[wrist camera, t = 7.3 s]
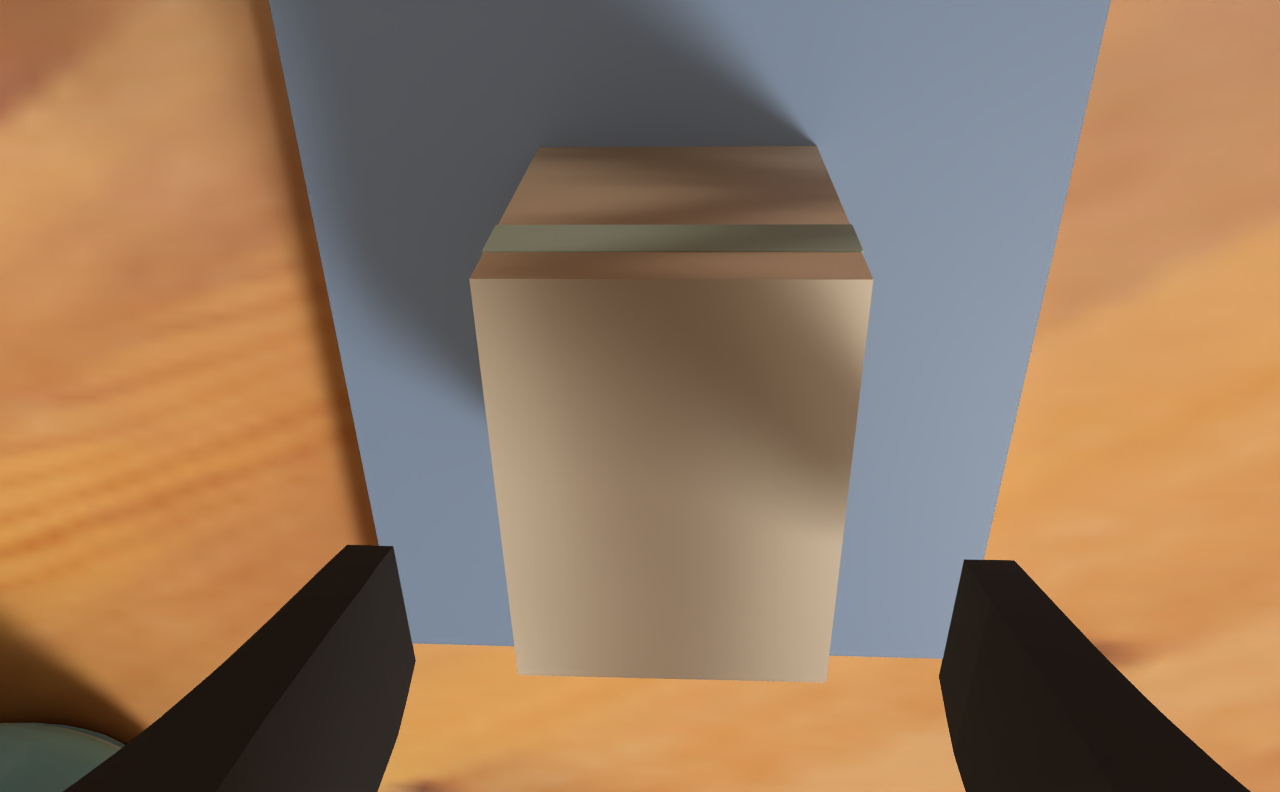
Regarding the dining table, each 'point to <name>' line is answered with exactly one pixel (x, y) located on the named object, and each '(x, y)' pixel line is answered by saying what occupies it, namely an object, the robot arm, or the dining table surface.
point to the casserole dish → (49, 755)
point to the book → (695, 117)
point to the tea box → (672, 408)
